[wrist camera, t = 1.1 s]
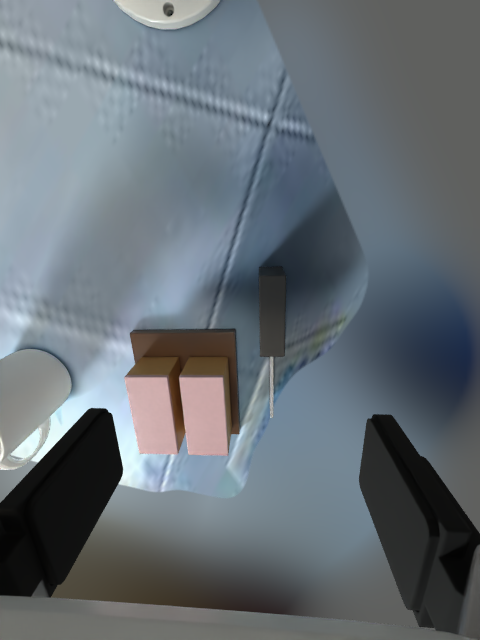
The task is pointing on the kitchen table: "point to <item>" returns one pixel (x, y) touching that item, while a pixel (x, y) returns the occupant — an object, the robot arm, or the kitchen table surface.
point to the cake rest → (156, 404)
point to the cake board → (192, 353)
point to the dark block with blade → (272, 317)
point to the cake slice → (206, 405)
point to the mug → (28, 399)
